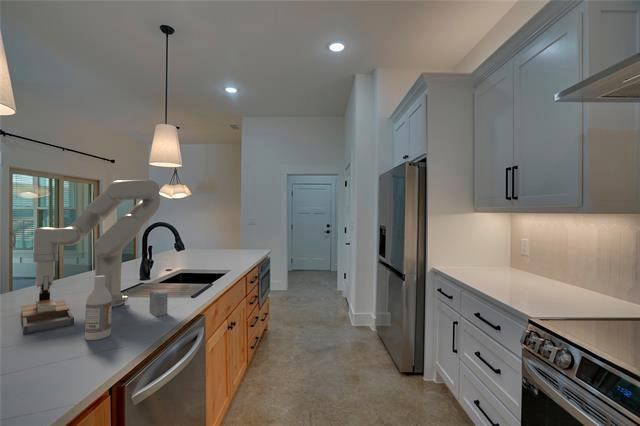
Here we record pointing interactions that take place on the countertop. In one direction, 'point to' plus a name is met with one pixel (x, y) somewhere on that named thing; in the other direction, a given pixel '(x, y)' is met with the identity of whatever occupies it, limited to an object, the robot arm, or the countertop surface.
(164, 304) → the medicine box
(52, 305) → the cream tile
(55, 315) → the walnut board
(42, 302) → the terracotta tile
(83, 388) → the countertop surface
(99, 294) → the bath foam
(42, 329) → the tray
